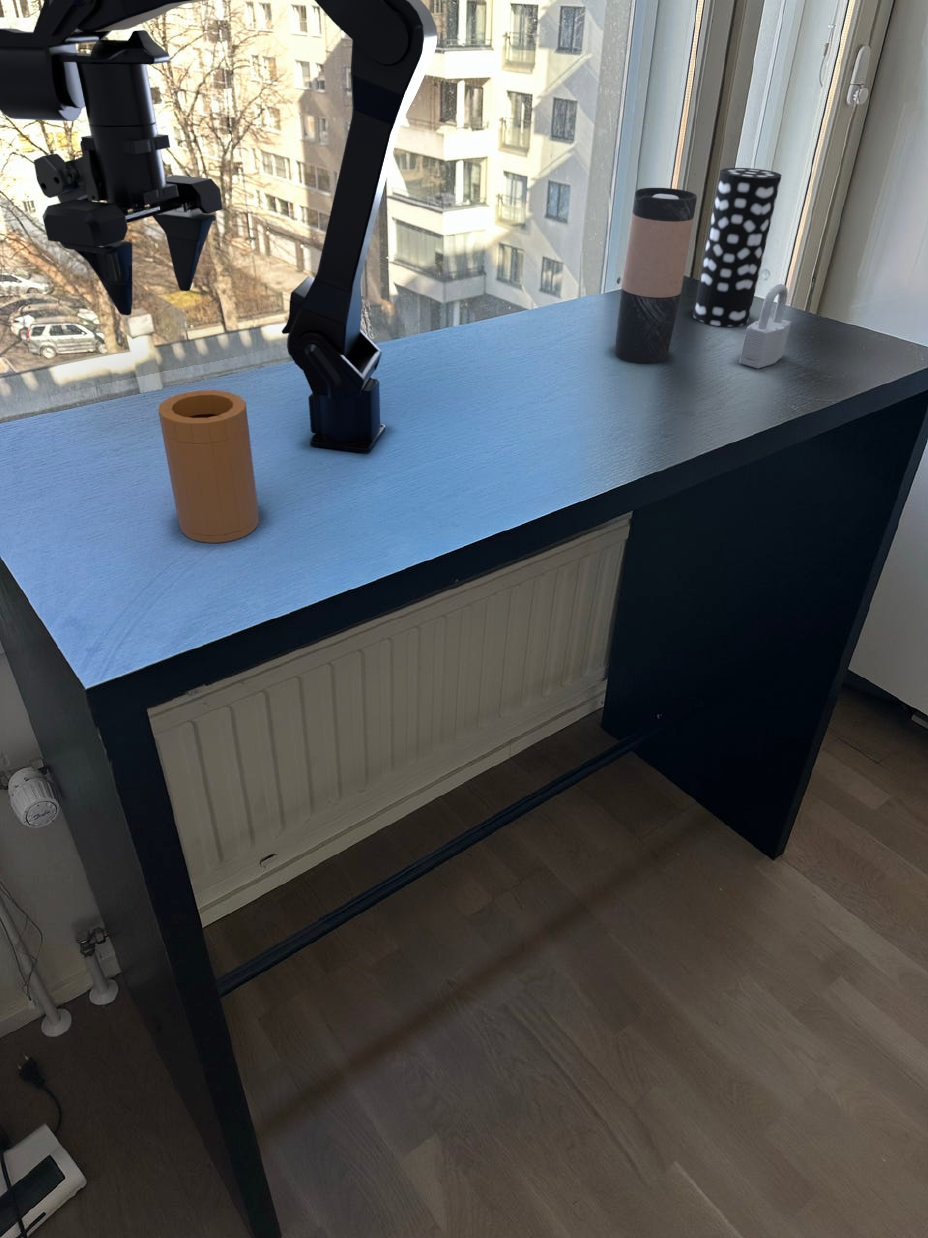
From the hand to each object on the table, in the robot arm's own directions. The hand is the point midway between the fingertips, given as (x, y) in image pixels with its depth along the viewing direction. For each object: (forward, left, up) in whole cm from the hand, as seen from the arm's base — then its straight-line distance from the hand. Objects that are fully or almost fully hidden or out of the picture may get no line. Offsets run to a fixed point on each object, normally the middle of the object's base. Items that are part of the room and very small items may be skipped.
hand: (156, 302), depth 86 cm
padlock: (-64, -42, -13) cm, 77 cm away
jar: (-14, +19, -13) cm, 27 cm away
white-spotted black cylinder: (-59, -60, -13) cm, 85 cm away
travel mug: (-48, -39, -13) cm, 63 cm away
